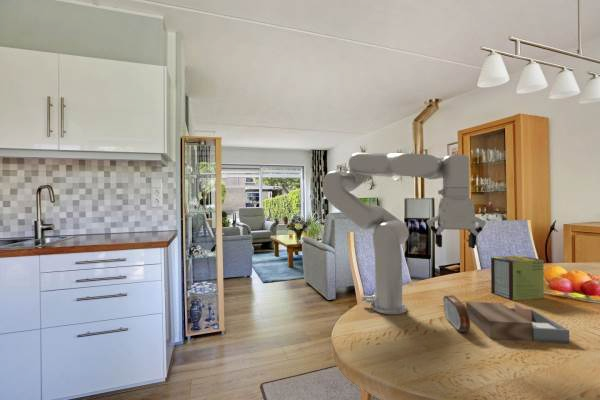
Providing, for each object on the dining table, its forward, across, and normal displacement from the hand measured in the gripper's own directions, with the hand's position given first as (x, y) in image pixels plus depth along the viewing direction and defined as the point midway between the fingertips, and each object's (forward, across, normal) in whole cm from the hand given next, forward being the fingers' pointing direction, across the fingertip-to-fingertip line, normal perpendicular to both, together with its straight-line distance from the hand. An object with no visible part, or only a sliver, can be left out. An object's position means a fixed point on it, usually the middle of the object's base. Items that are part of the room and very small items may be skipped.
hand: (455, 247), depth 94 cm
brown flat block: (+24, +12, -1) cm, 27 cm away
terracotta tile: (+21, +20, +3) cm, 29 cm away
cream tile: (+22, +23, -5) cm, 32 cm away
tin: (+25, 0, -2) cm, 25 cm away
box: (+24, +22, -1) cm, 33 cm away
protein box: (+25, +35, +33) cm, 54 cm away
